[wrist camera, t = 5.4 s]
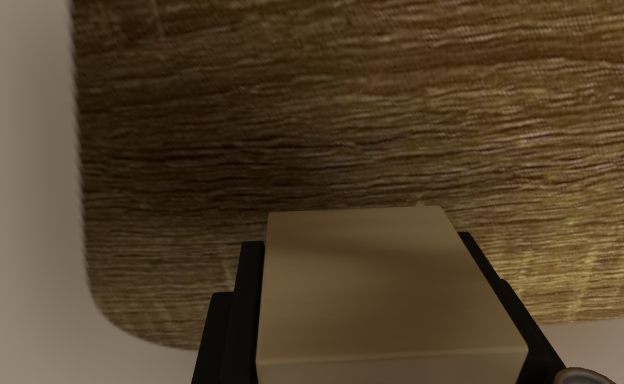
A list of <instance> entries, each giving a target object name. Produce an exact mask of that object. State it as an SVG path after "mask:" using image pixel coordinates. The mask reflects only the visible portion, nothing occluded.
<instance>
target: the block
mask: <svg viewBox="0 0 624 384" xmlns="http://www.w3.org/2000/svg"><path fill="white" fill-rule="evenodd" d="M527 354H528V346H527V344H526V342H525V341H524V339H523V337H522V336H521V334H520V333H519V331H518V329H517V328H516V326H515V325H514V323H513V321H512V320H511V318H510V317H509V315H508V313H507V312H506V310H505V309H504V307H503V305H502V304H501V302H500V301H499V299H498V297H497V296H496V294H495V293H494V291H493V289H492V288H491V286H490V285H489V283H488V281H487V280H486V278H485V277H484V275H483V273H482V272H481V270H480V269H479V267H478V265H477V264H476V262H475V261H474V259H473V257H472V256H471V254H470V253H469V251H468V250H467V248H466V246H465V245H464V243H463V242H462V240H461V238H460V237H459V235H458V234H457V232H456V230H455V229H454V227H453V226H452V224H451V222H450V221H449V219H448V218H447V216H446V214H445V213H444V211H443V210H442V208H441V207H440V206H438V205H433V206H409V207H384V208H360V209H336V210H311V211H287V212H271V213H269V215H268V223H267V235H266V246H265V258H264V270H263V281H262V293H261V305H260V316H259V328H258V340H257V351H256V369H257V377H258V384H516V382H517V380H518V377H519V374H520V372H521V369H522V367H523V364H524V361H525V359H526V356H527Z"/></svg>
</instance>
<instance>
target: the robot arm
mask: <svg viewBox="0 0 624 384" xmlns="http://www.w3.org/2000/svg"><path fill="white" fill-rule="evenodd" d="M457 234H458V235H459V237H460V238H461V240H462V242H463V243H464V245H465V246H466V248H467V250H468V251H469V253H470V254H471V256H472V257H473V259H474V261H475V262H476V264H477V265H478V267H479V269H480V270H481V272H482V273H483V275H484V277H485V278H486V280H487V281H488V283H489V285H490V286H491V288H492V289H493V291H494V293H495V294H496V296H497V297H498V299H499V301H500V302H501V304H502V305H503V307H504V309H505V310H506V312H507V313H508V315H509V317H510V318H511V320H512V321H513V323H514V325H515V326H516V328H517V329H518V331H519V333H520V334H521V336H522V337H523V339H524V341H525V342H526V344H527V346H528V354H527V356H526V359H525V361H524V364H523V367H522V369H521V372H520V374H519V377H518V380H517V382H516V384H616V383H615V382H613V381H612V380H610V379H608V378H607V377H606V376H604V375H601V374H599V373H597V372H595V371H592V370H588V369H584V368H580V367H579V368H578V367H573V368H572V367H569V368H566V366H565V365H564V363H563V362H562V360H561V359H560V358H559V356H558V354H557V353H556V352H555V350H554V349H553V347H552V346H551V344H550V343H549V342H548V340H547V338H546V337H545V336H544V334H543V333H542V331H541V330H540V328H539V327H538V325H537V324H536V322H535V321H534V320H533V318H532V317H531V315H530V314H529V312H528V311H527V309H526V308H525V306H524V305H523V303H522V302H521V301H520V299H519V298H518V296H517V295H516V293H515V292H514V290H513V289H512V287H511V286H510V285H509V284H508V283H507V281H505V280H503V279H500V278H499V276H498V275H497V273H496V272H495V270H494V269H493V267H492V266H491V264H490V263H489V261H488V260H487V258H486V257H485V255H484V254H483V252H482V251H481V249H480V248H479V246H478V245H477V243H476V242H475V240H474V239H473V237H472V236H471V234H470V233H468V232H457ZM264 258H265V246H264V242H263V241H245V242H242V247H241V252H240V258H239V264H238V270H237V276H236V282H235V288H234V292H217V293H213V295H212V298H211V301H210V306H209V310H208V314H207V318H206V323H205V327H204V331H203V335H202V340H201V344H200V348H199V352H198V357H197V361H196V365H195V369H194V374H193V378H192V382H191V384H258V377H257V369H256V351H257V340H258V328H259V316H260V305H261V293H262V281H263V270H264Z"/></svg>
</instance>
